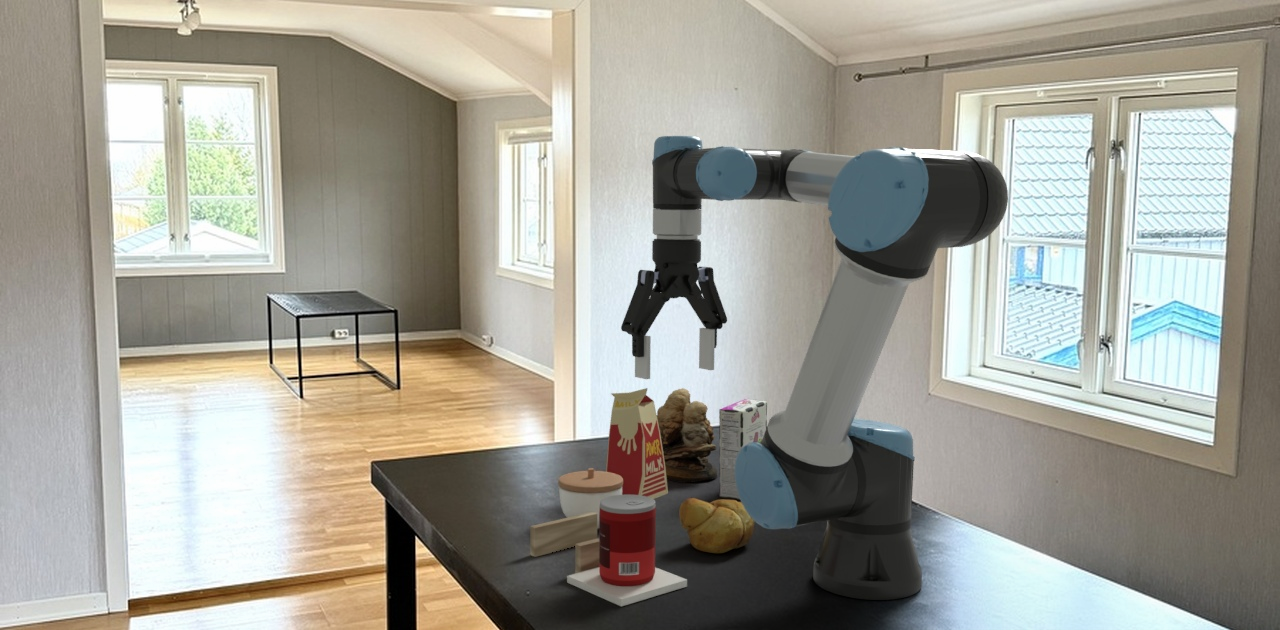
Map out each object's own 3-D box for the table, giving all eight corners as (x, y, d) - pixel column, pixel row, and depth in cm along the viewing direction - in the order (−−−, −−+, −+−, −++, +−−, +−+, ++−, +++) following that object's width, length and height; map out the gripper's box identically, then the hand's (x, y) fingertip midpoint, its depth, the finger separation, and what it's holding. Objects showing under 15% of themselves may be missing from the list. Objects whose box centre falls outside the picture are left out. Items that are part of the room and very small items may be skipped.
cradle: (643, 559, 171) (643, 530, 170) (580, 576, 163) (580, 546, 163) (592, 539, 180) (592, 511, 180) (530, 554, 172) (530, 526, 172)
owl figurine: (735, 479, 218) (737, 392, 216) (685, 488, 212) (686, 398, 210) (681, 460, 233) (682, 378, 231) (633, 468, 227) (633, 383, 225)
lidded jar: (615, 535, 182) (615, 478, 181) (550, 531, 184) (550, 474, 183) (629, 517, 193) (629, 463, 192) (568, 513, 195) (568, 459, 194)
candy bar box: (742, 483, 215) (744, 398, 213) (767, 487, 213) (768, 400, 211) (716, 497, 205) (718, 407, 204) (742, 501, 203) (743, 410, 201)
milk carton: (668, 493, 208) (669, 385, 206) (641, 505, 200) (642, 393, 198) (626, 486, 213) (627, 380, 210) (598, 497, 205) (598, 387, 203)
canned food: (666, 577, 160) (667, 501, 159) (627, 591, 154) (627, 512, 153) (627, 564, 165) (627, 490, 164) (587, 578, 159) (588, 501, 158)
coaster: (687, 586, 159) (687, 579, 159) (621, 606, 151) (621, 599, 151) (631, 564, 168) (631, 558, 168) (567, 582, 160) (567, 575, 160)
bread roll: (727, 530, 186) (727, 482, 185) (773, 543, 179) (774, 494, 178) (672, 547, 177) (673, 497, 176) (719, 562, 170) (720, 510, 169)
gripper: (717, 234, 186) (715, 362, 188) (598, 238, 170) (598, 378, 172) (750, 236, 180) (748, 368, 183) (631, 240, 164) (630, 385, 166)
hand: (675, 373), depth 177 cm, fingers open, 13 cm apart
